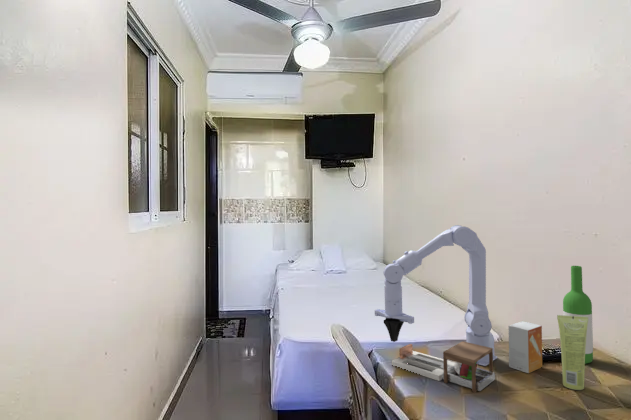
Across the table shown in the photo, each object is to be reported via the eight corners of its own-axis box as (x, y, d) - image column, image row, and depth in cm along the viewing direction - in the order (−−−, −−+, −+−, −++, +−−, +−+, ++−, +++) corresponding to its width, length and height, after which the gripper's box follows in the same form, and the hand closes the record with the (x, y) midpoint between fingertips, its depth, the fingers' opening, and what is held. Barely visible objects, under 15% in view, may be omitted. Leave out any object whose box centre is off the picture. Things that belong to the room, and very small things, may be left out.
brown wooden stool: (463, 369, 121) (462, 341, 121) (493, 378, 115) (492, 348, 115) (444, 382, 113) (443, 351, 113) (474, 392, 106) (474, 360, 106)
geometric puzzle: (470, 365, 119) (459, 347, 117) (490, 373, 113) (479, 354, 111) (458, 384, 116) (446, 366, 114) (478, 393, 111) (466, 374, 108)
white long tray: (413, 355, 133) (413, 342, 133) (494, 379, 113) (494, 363, 113) (396, 364, 126) (396, 350, 126) (479, 391, 106) (479, 374, 106)
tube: (571, 380, 112) (569, 312, 112) (590, 387, 107) (588, 316, 107) (558, 385, 109) (556, 314, 109) (577, 392, 105) (575, 319, 105)
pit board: (412, 354, 134) (412, 350, 134) (458, 368, 122) (458, 363, 122) (391, 365, 126) (391, 360, 126) (439, 380, 114) (439, 375, 114)
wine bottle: (564, 353, 132) (562, 263, 131) (593, 358, 127) (591, 265, 127) (563, 361, 125) (561, 267, 125) (593, 366, 121) (590, 268, 121)
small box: (529, 374, 117) (528, 330, 117) (508, 367, 122) (507, 325, 122) (543, 367, 121) (542, 325, 121) (522, 361, 127) (521, 320, 127)
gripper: (368, 299, 135) (369, 338, 135) (405, 306, 124) (406, 349, 124) (381, 295, 139) (382, 333, 140) (417, 302, 129) (418, 343, 129)
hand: (394, 340), depth 132 cm, fingers closed
